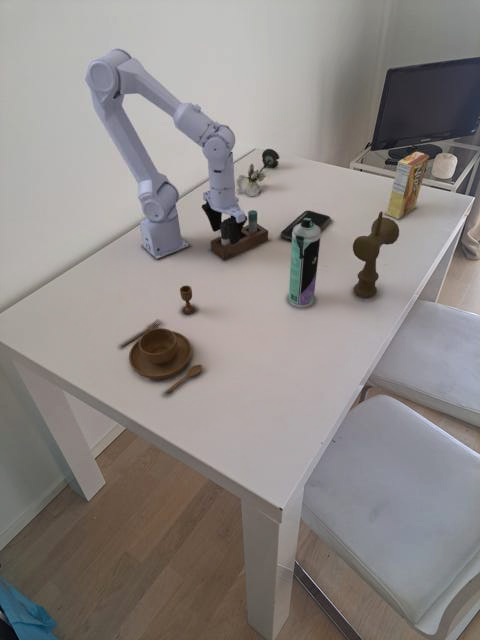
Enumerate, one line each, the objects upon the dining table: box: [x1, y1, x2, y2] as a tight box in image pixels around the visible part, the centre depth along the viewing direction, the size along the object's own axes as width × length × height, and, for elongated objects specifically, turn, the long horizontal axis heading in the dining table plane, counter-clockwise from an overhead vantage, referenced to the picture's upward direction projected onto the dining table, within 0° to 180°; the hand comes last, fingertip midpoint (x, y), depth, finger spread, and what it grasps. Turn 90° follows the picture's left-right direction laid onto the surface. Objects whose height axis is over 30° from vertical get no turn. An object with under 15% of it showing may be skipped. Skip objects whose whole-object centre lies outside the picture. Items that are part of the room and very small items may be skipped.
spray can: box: [288, 217, 322, 309], centre depth 88 cm, size 6×6×20 cm
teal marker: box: [247, 209, 258, 234], centre depth 111 cm, size 2×2×8 cm
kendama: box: [352, 211, 400, 299], centre depth 89 cm, size 6×10×20 cm, turn 140°
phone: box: [280, 210, 331, 242], centre depth 116 cm, size 8×1×15 cm
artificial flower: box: [235, 148, 281, 197], centre depth 136 cm, size 9×22×10 cm, turn 152°
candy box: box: [386, 151, 430, 220], centre depth 116 cm, size 9×4×15 cm, turn 134°
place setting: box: [120, 285, 203, 395], centre depth 83 cm, size 18×20×6 cm
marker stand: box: [210, 223, 269, 261], centre depth 110 cm, size 14×6×3 cm, turn 126°
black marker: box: [219, 221, 230, 246], centre depth 107 cm, size 2×2×8 cm
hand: (225, 236), depth 107 cm, fingers open, 7 cm apart
